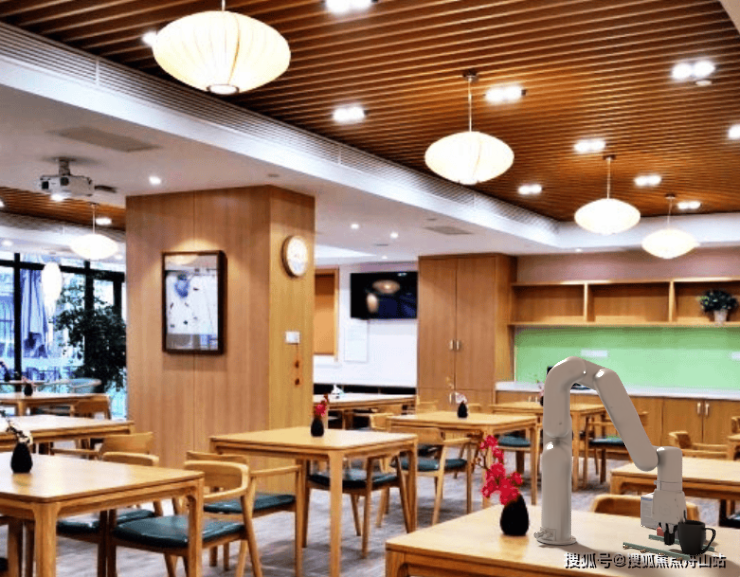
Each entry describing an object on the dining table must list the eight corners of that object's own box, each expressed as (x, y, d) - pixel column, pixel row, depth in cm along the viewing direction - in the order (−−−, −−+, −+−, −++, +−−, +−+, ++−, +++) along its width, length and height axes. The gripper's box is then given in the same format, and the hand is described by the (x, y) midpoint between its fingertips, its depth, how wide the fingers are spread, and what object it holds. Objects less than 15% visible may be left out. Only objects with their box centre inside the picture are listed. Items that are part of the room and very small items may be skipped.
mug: (706, 561, 268) (706, 529, 269) (671, 552, 278) (671, 521, 278) (722, 557, 273) (722, 525, 274) (687, 548, 283) (687, 518, 283)
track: (683, 562, 267) (683, 558, 267) (618, 547, 283) (618, 543, 283) (714, 550, 280) (714, 547, 280) (650, 537, 296) (650, 534, 296)
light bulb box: (654, 521, 321) (654, 491, 321) (671, 525, 316) (672, 494, 316) (639, 526, 313) (639, 495, 313) (657, 529, 308) (657, 498, 309)
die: (666, 539, 295) (666, 528, 295) (656, 537, 296) (656, 527, 297) (668, 537, 297) (668, 527, 298) (659, 536, 299) (659, 525, 299)
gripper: (642, 484, 286) (641, 542, 285) (686, 491, 275) (685, 551, 274) (653, 481, 291) (653, 538, 290) (697, 488, 280) (697, 547, 280)
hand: (669, 544), depth 282 cm, fingers closed
